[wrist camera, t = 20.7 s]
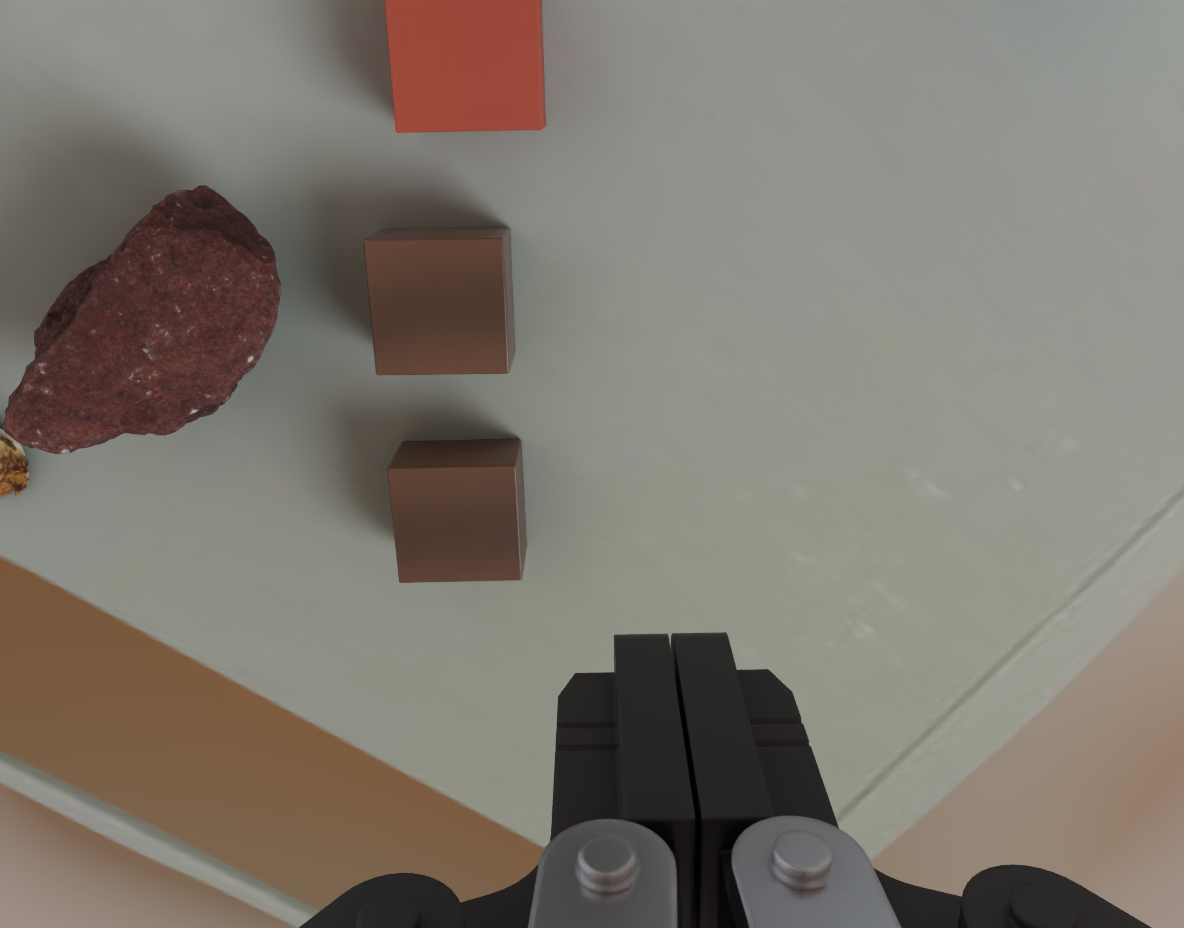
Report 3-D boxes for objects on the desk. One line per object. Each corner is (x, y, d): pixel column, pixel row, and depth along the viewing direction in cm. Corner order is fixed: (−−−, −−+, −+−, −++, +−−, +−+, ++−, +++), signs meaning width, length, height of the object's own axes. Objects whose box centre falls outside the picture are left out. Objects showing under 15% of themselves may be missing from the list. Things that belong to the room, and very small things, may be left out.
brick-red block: (399, -20, 34) (381, -32, 31) (540, -23, 34) (535, -35, 31) (412, 129, 36) (395, 132, 33) (546, 127, 36) (541, 129, 33)
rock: (20, 502, 32) (-104, 269, 29) (33, 457, 38) (-71, 257, 35) (329, 389, 36) (247, 171, 33) (299, 363, 41) (227, 174, 38)
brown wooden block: (380, 228, 37) (362, 239, 34) (510, 226, 37) (503, 237, 34) (392, 354, 39) (375, 375, 36) (515, 353, 39) (509, 374, 36)
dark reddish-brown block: (401, 441, 40) (386, 468, 37) (521, 438, 40) (515, 465, 37) (412, 548, 42) (398, 583, 39) (526, 546, 42) (522, 580, 39)
